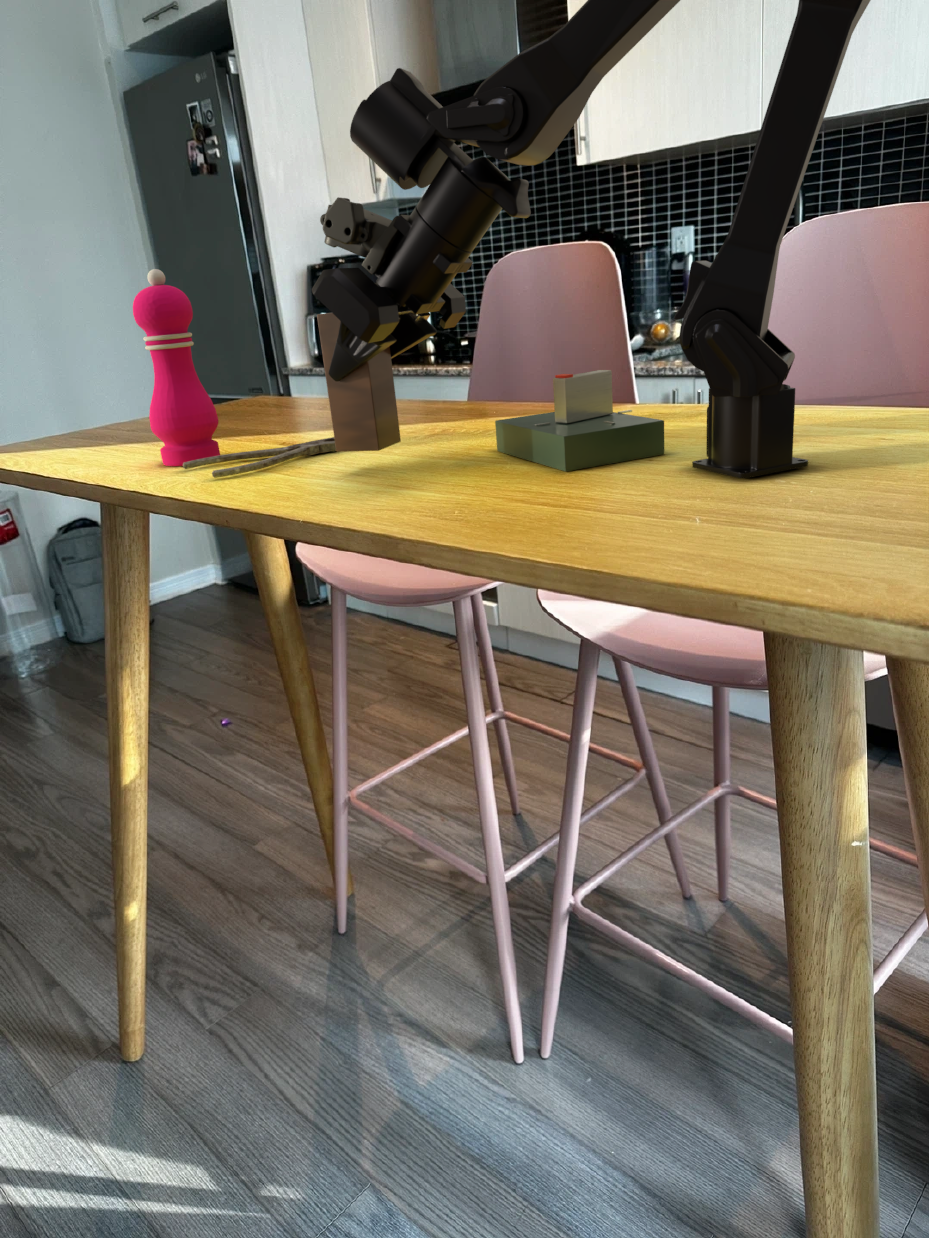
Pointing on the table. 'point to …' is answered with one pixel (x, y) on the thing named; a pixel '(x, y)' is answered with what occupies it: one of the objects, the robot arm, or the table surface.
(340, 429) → the walnut block
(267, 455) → the forked twig
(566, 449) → the dark green flat block
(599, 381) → the grey slab
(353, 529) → the table surface
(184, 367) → the pepper mill
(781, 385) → the robot arm
